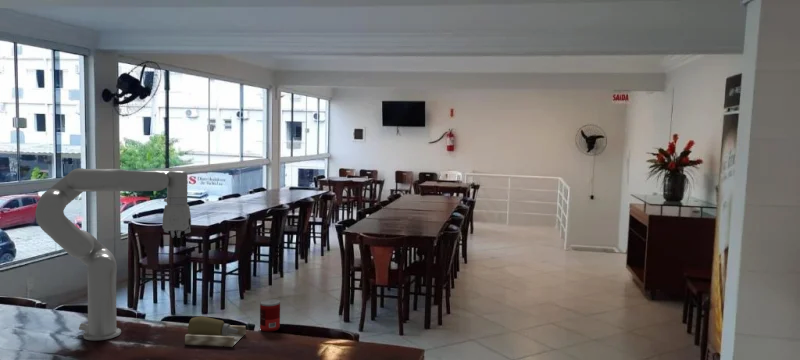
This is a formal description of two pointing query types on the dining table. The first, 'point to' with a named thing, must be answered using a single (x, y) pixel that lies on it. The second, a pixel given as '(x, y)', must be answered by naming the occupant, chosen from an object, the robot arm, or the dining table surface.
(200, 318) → the squeeze bottle
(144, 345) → the dining table surface
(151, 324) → the dining table surface
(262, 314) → the canned food
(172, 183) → the robot arm
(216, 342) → the cradle
